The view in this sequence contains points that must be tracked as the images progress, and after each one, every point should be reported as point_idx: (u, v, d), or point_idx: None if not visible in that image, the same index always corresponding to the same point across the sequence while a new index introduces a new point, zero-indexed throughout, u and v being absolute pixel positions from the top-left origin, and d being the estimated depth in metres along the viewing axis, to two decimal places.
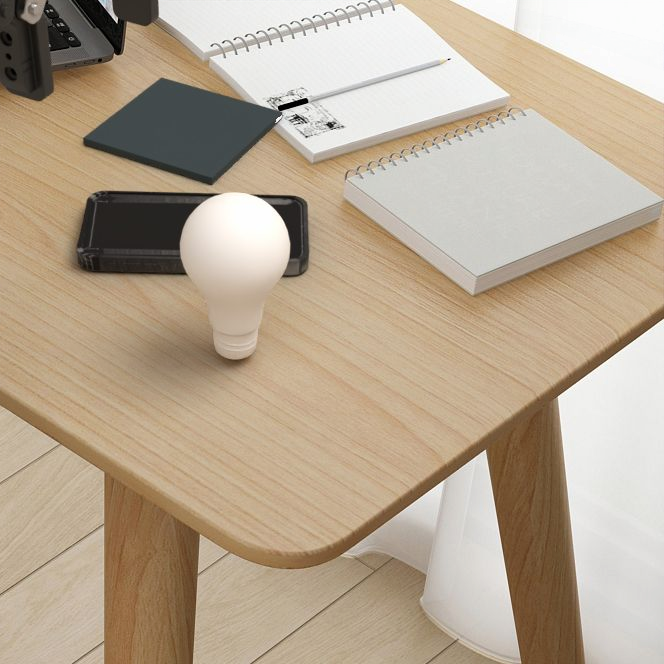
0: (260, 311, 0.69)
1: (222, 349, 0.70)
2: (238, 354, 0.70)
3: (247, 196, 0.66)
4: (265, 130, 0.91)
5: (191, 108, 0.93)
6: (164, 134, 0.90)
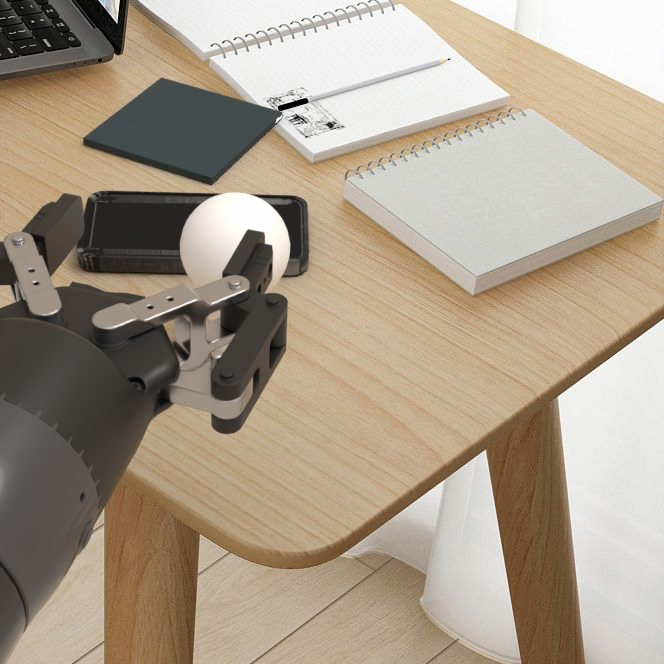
0: None
1: (222, 349, 0.70)
2: None
3: (247, 196, 0.66)
4: (265, 130, 0.91)
5: (191, 108, 0.93)
6: (164, 134, 0.90)
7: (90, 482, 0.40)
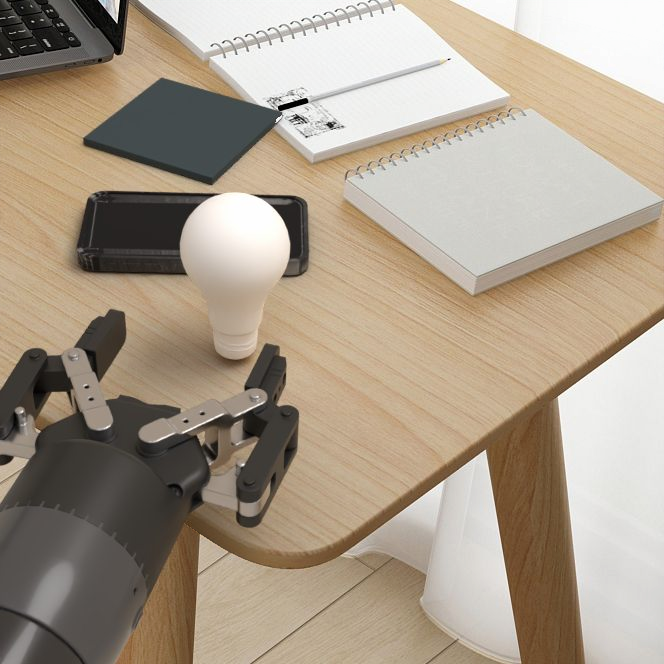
0: (260, 311, 0.69)
1: (222, 349, 0.70)
2: (238, 354, 0.70)
3: (247, 196, 0.66)
4: (265, 130, 0.91)
5: (191, 108, 0.93)
6: (164, 134, 0.90)
7: (141, 578, 0.49)
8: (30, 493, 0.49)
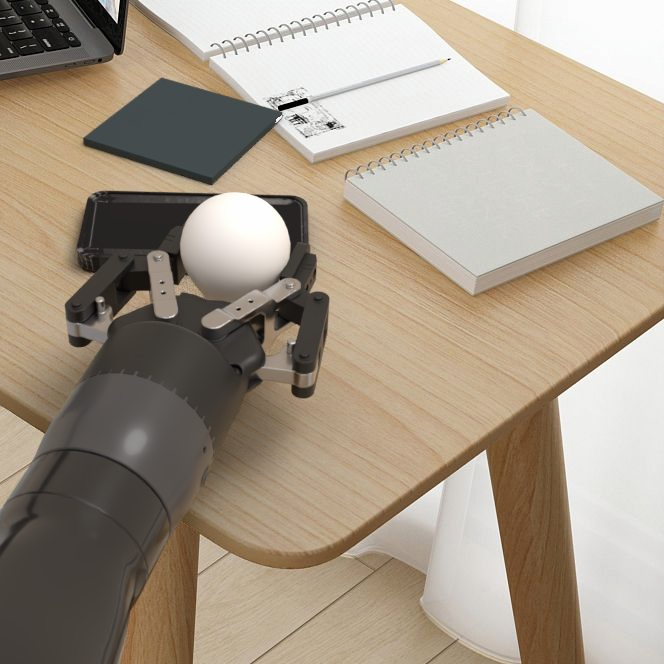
0: None
1: None
2: None
3: (247, 196, 0.66)
4: (265, 130, 0.91)
5: (191, 108, 0.93)
6: (164, 134, 0.90)
7: (209, 439, 0.56)
8: (110, 363, 0.56)
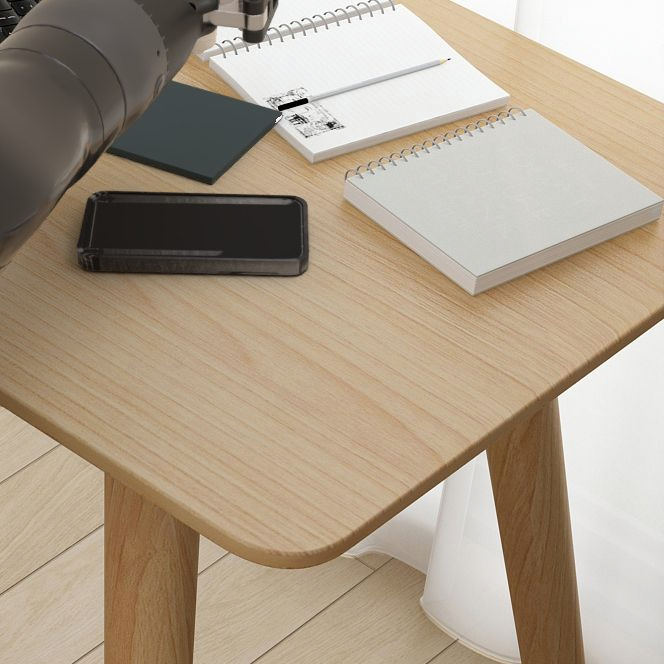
0: None
1: None
2: (199, 44, 0.76)
3: None
4: (265, 130, 0.91)
5: (191, 108, 0.93)
6: (164, 134, 0.90)
7: (162, 46, 0.61)
8: None
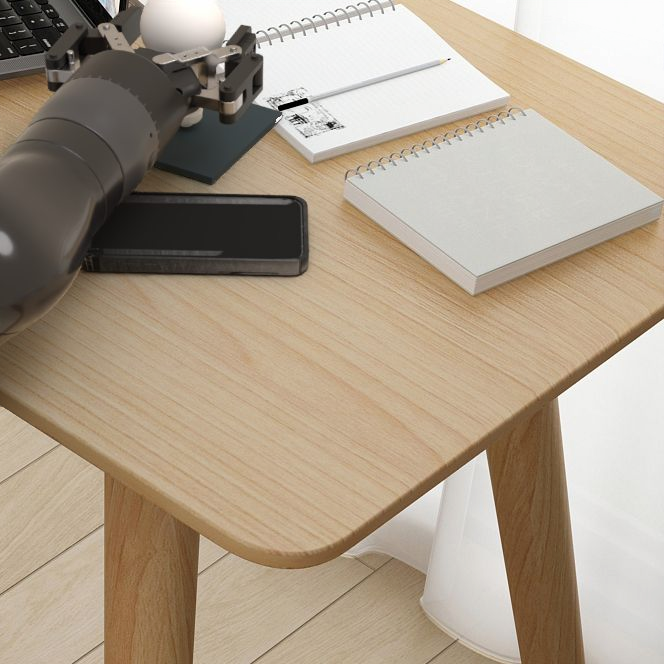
0: None
1: None
2: (187, 120, 0.89)
3: None
4: (265, 130, 0.91)
5: None
6: None
7: (154, 129, 0.75)
8: (81, 73, 0.75)
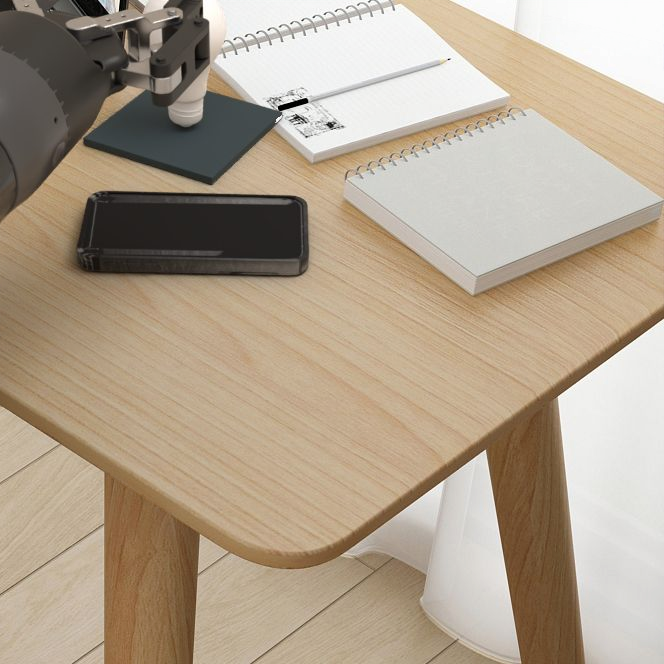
0: (204, 82, 0.88)
1: (174, 116, 0.89)
2: (187, 120, 0.89)
3: None
4: (265, 130, 0.91)
5: None
6: (164, 134, 0.90)
7: (61, 113, 0.58)
8: None
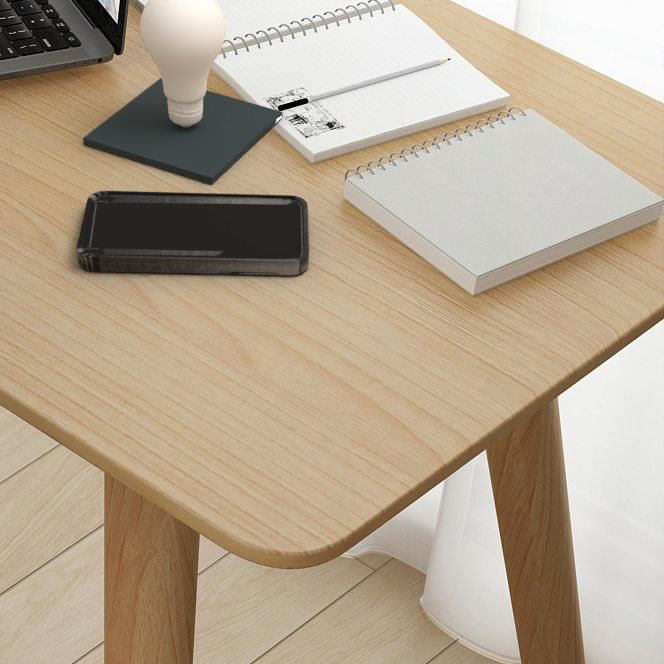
0: (203, 83, 0.88)
1: (174, 116, 0.89)
2: (187, 120, 0.89)
3: None
4: (265, 130, 0.91)
5: None
6: (164, 134, 0.90)
7: None
8: None
